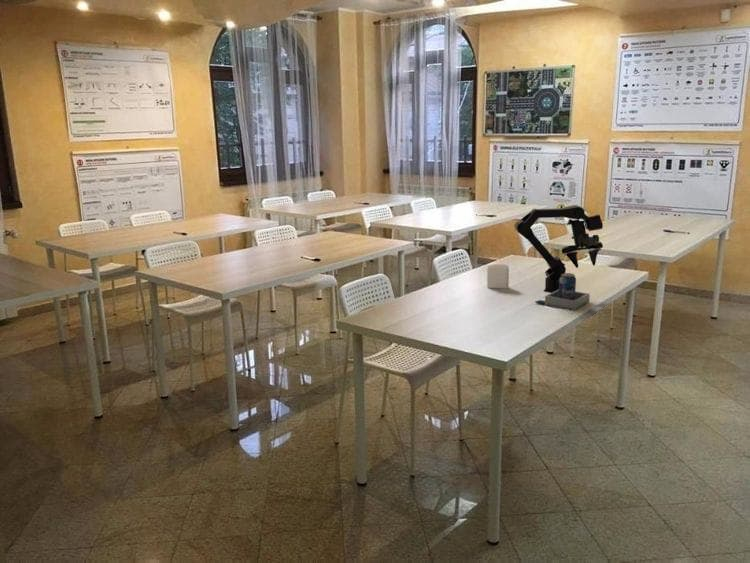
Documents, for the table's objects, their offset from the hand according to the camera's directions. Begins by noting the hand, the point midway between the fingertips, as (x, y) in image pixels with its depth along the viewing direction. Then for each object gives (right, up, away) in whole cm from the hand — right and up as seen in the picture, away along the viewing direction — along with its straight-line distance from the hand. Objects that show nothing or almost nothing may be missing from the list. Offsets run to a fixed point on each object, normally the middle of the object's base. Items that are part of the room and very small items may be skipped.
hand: (585, 266), depth 287 cm
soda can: (-12, -16, -11) cm, 23 cm away
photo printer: (-37, -10, +18) cm, 42 cm away
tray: (-12, -17, -11) cm, 23 cm away
